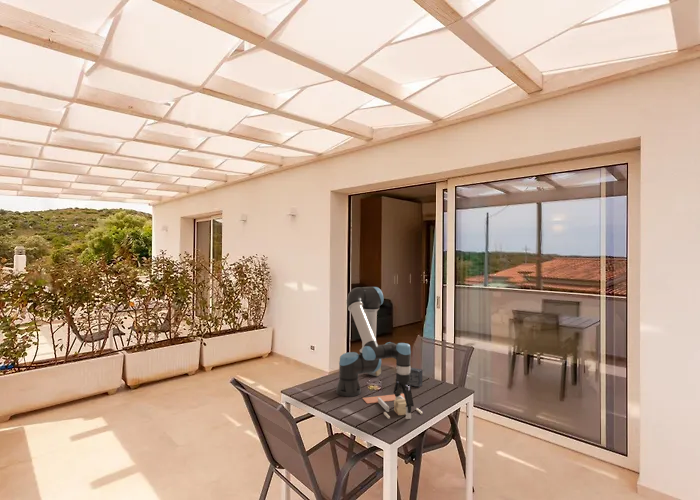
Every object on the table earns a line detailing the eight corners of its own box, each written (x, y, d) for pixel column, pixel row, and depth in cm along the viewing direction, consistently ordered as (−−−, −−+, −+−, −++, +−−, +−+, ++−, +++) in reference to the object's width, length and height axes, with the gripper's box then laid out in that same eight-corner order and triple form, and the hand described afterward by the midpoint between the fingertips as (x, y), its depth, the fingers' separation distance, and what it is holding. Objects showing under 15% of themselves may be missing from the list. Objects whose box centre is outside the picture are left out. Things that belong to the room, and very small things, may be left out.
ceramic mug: (376, 378, 252) (376, 366, 252) (366, 375, 256) (366, 364, 257) (383, 374, 260) (384, 363, 261) (374, 372, 265) (374, 361, 265)
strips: (383, 413, 194) (383, 412, 194) (417, 409, 200) (417, 407, 200) (388, 418, 188) (388, 416, 188) (422, 414, 194) (422, 412, 194)
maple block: (394, 410, 198) (394, 399, 198) (404, 409, 200) (404, 398, 200) (398, 415, 192) (398, 404, 192) (409, 414, 194) (409, 402, 194)
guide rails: (377, 401, 210) (377, 397, 210) (400, 399, 214) (400, 395, 214) (387, 411, 196) (387, 407, 196) (411, 408, 201) (411, 404, 201)
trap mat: (362, 398, 214) (362, 397, 214) (405, 393, 223) (405, 393, 223) (367, 403, 207) (367, 403, 207) (411, 398, 215) (411, 398, 215)
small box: (422, 385, 239) (423, 369, 239) (419, 388, 233) (419, 371, 233) (408, 382, 244) (408, 366, 245) (404, 384, 239) (404, 368, 239)
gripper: (387, 366, 205) (387, 405, 205) (407, 381, 182) (406, 424, 181) (399, 365, 208) (399, 403, 207) (420, 379, 184) (420, 422, 184)
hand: (402, 413), depth 194 cm, fingers open, 12 cm apart
